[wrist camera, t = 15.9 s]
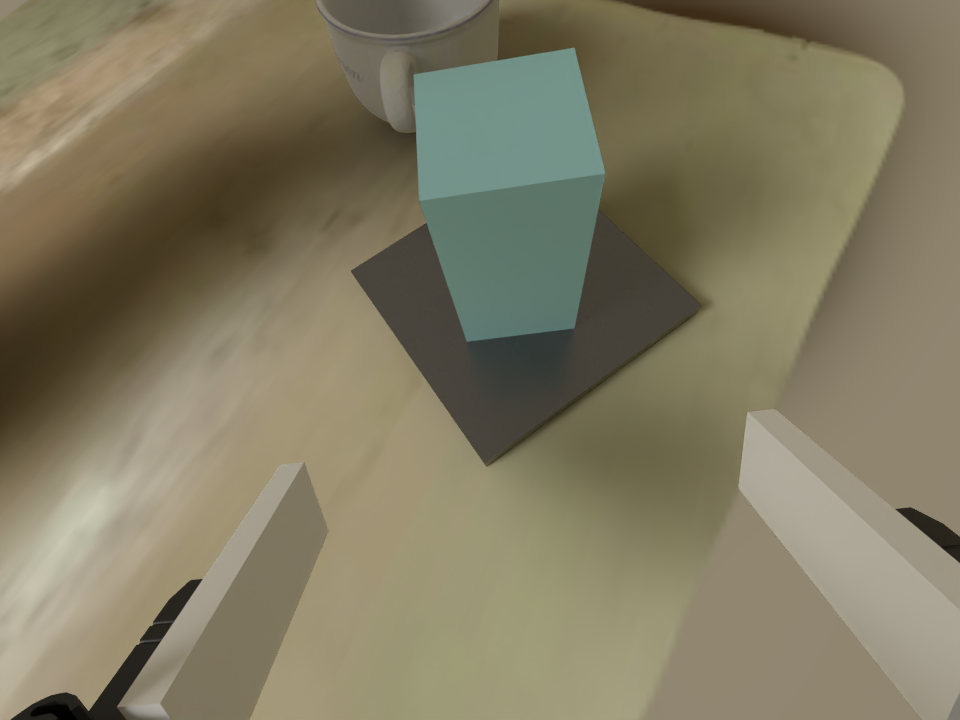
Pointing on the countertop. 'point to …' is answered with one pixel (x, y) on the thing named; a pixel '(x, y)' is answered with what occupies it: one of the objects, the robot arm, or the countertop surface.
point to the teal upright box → (509, 189)
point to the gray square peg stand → (523, 358)
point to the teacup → (406, 46)
